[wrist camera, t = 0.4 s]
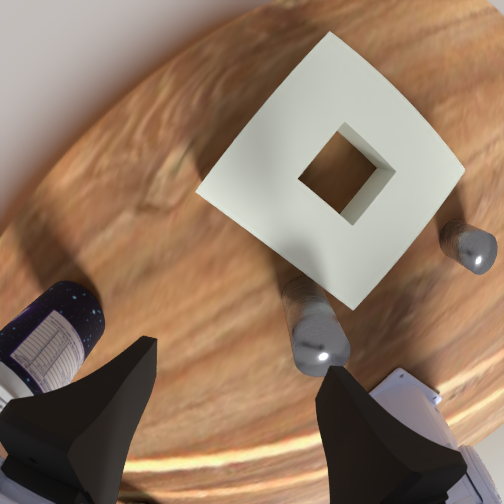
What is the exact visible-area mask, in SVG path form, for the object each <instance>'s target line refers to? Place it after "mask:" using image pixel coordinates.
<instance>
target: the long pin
mask: <svg viewBox="0 0 504 504" xmlns="http://www.w3.org/2000/svg"><path fill="white" fill-rule="evenodd" d="M282 303H283V307H284V312H285V317H286V322H287V327H288V332H289V336H290V341H291V346H292V351H293V356H294V361H295V365H296V367H297V368H298V369H299V370H300V371H301V372H302V373H304V374H306V375H309V376H314V377H321V376H326V373H327V371H328V368H329V366H330V365H332V366H343V365H344V364H345V363H346V362H347V360H348V358H349V356H350V351H351V347H350V344H349V341H348V339H347V337H346V335H345V333H344V331H343V329H342V327H341V325H340V323H339V320H338V318H337V316H336V314H335V312H334V310H333V308H332V306H331V304H330V302H329V300H328V298H327V296H326V294H325V292H324V290H323V288H322V286H320V285H319V284H318V283H316V282H315V281H314V280H313V279H311V278H310V277H306V276H303V277H297V278H295V279H293V280H291V281H290V282H289V283H287V285H286V286H285V287H284V289H283V292H282Z"/></svg>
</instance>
